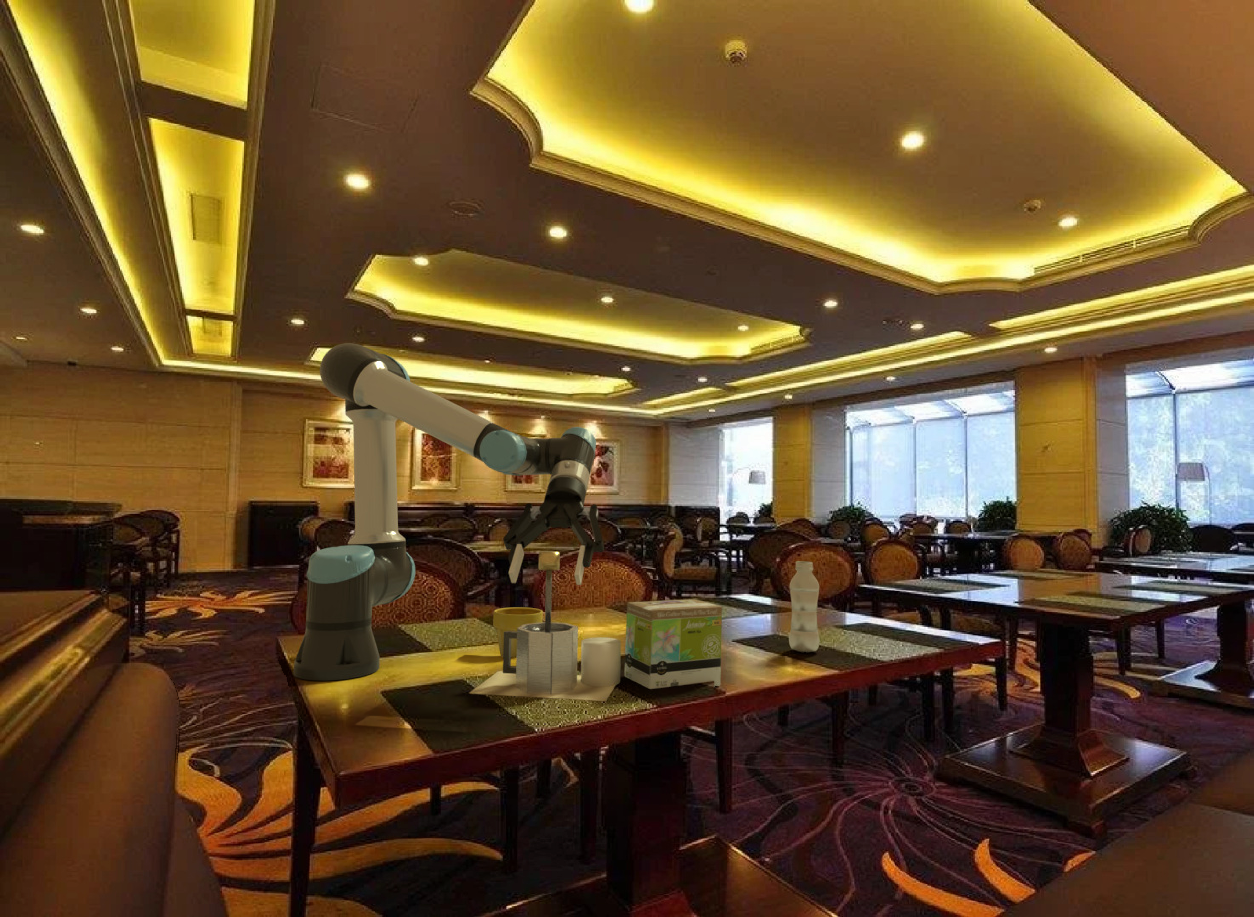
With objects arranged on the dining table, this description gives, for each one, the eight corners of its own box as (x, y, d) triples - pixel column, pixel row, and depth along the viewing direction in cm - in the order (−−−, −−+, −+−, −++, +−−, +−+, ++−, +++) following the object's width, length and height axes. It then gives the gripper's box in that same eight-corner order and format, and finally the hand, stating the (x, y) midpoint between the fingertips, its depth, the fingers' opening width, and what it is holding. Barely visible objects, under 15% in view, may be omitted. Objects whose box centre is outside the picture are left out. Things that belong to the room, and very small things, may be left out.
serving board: (468, 700, 113) (468, 693, 113) (498, 677, 128) (498, 670, 128) (605, 708, 110) (605, 700, 110) (620, 683, 124) (620, 677, 124)
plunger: (522, 641, 115) (524, 552, 116) (533, 633, 122) (535, 550, 123) (562, 643, 114) (564, 553, 115) (571, 635, 121) (573, 551, 122)
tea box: (650, 697, 117) (651, 609, 117) (623, 682, 125) (624, 601, 126) (722, 687, 123) (723, 604, 124) (692, 674, 132) (693, 597, 133)
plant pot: (546, 652, 149) (547, 607, 149) (535, 664, 138) (536, 615, 139) (500, 651, 150) (501, 606, 150) (485, 662, 140) (487, 613, 140)
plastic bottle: (795, 647, 158) (795, 560, 159) (824, 651, 154) (823, 562, 155) (784, 652, 153) (784, 562, 154) (813, 656, 149) (813, 564, 150)
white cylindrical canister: (576, 685, 118) (577, 644, 119) (585, 675, 125) (585, 636, 126) (616, 687, 117) (617, 646, 118) (622, 677, 124) (623, 638, 125)
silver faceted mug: (494, 691, 114) (495, 631, 115) (512, 676, 124) (513, 620, 124) (567, 695, 112) (569, 634, 113) (580, 680, 122) (581, 623, 122)
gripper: (505, 474, 132) (474, 562, 115) (624, 475, 128) (609, 566, 112) (513, 501, 136) (484, 590, 120) (628, 503, 133) (614, 594, 117)
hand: (544, 579), depth 116 cm, fingers open, 11 cm apart
